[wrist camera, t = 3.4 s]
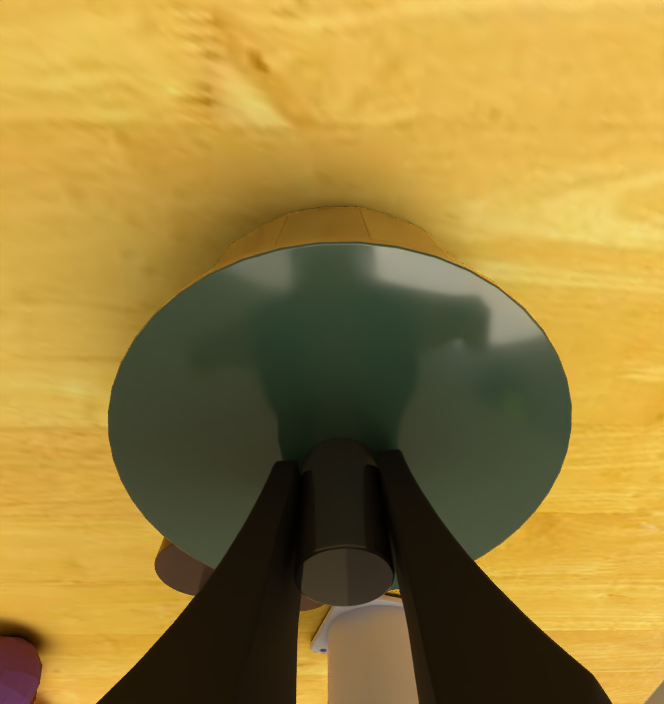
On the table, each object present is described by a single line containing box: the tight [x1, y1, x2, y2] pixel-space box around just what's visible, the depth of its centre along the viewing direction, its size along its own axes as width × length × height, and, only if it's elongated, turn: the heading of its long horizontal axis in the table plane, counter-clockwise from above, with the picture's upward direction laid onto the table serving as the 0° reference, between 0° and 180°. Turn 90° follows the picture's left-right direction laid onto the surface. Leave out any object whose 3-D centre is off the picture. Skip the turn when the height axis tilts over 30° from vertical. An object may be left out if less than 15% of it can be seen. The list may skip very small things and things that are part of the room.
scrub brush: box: [155, 537, 324, 611], centre depth 22 cm, size 9×4×4 cm, turn 72°
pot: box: [212, 206, 457, 269], centre depth 16 cm, size 13×13×6 cm
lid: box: [108, 237, 572, 607], centre depth 12 cm, size 14×14×5 cm
